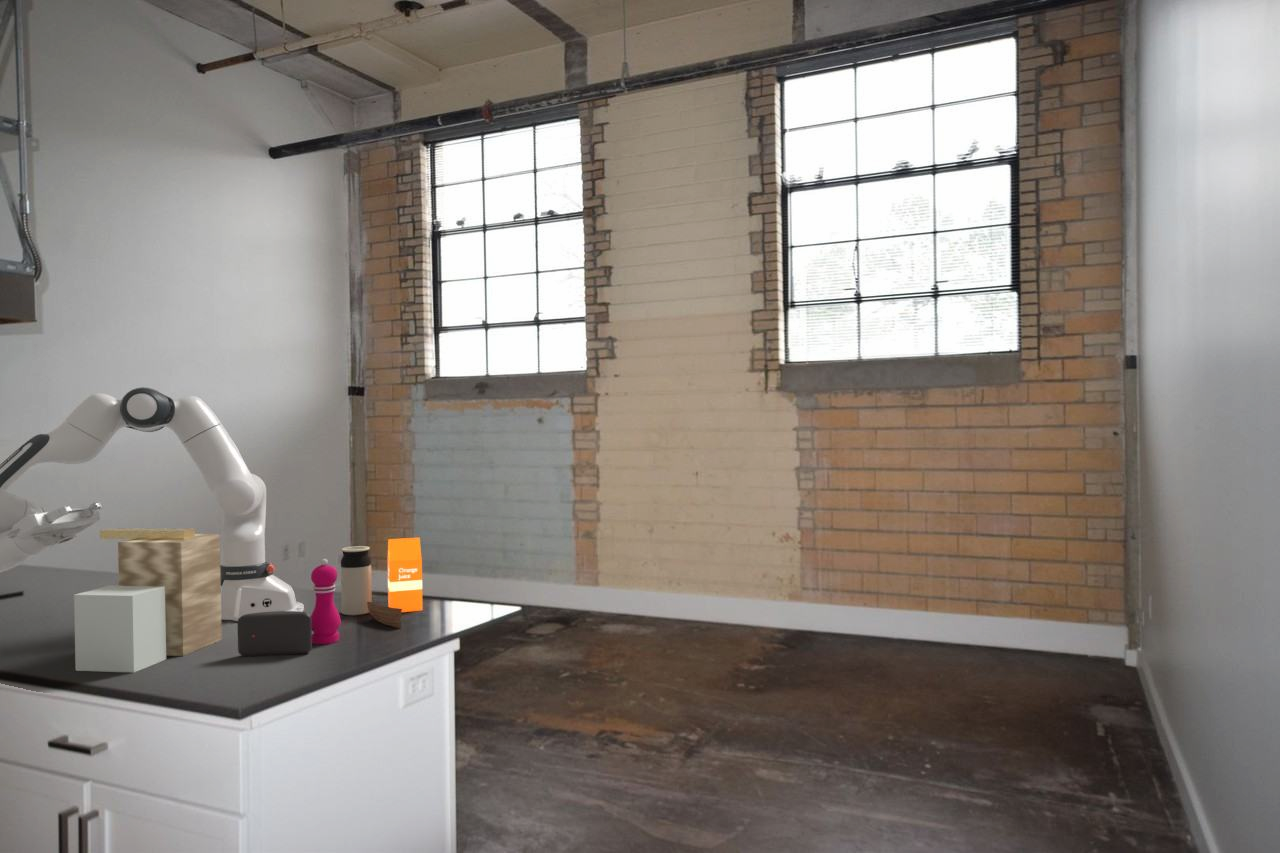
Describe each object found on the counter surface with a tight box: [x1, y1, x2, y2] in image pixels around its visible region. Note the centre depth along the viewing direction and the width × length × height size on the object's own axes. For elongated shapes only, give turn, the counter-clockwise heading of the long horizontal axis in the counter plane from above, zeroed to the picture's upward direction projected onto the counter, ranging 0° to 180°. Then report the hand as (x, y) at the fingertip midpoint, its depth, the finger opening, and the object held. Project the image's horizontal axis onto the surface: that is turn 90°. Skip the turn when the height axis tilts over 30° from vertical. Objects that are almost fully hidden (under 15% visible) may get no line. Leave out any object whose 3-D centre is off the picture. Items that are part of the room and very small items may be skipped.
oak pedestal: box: [117, 533, 223, 657], centre depth 203 cm, size 16×14×26 cm
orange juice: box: [387, 537, 423, 613], centre depth 241 cm, size 8×9×20 cm
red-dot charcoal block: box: [236, 611, 313, 657], centre depth 197 cm, size 16×5×9 cm, turn 96°
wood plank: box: [367, 602, 402, 629], centre depth 224 cm, size 15×2×5 cm, turn 48°
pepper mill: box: [310, 558, 342, 645], centre depth 207 cm, size 7×7×20 cm
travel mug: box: [340, 545, 373, 616], centre depth 237 cm, size 8×8×18 cm
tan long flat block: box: [99, 527, 196, 540], centre depth 204 cm, size 22×4×2 cm, turn 82°
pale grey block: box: [73, 585, 167, 673], centre depth 189 cm, size 14×10×16 cm
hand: (84, 506), depth 207 cm, fingers open, 8 cm apart
